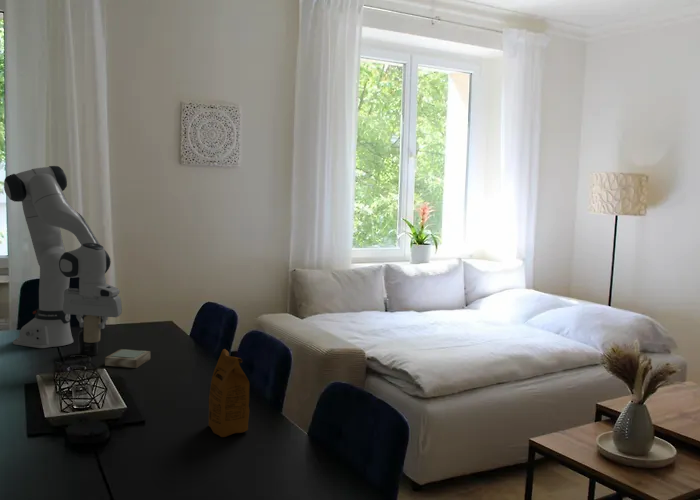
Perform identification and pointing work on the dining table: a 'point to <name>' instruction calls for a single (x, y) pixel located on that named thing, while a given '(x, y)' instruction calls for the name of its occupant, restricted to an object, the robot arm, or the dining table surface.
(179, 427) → the dining table surface
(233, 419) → the coffee package
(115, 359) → the plinth
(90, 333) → the candle
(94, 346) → the supplement bottle
